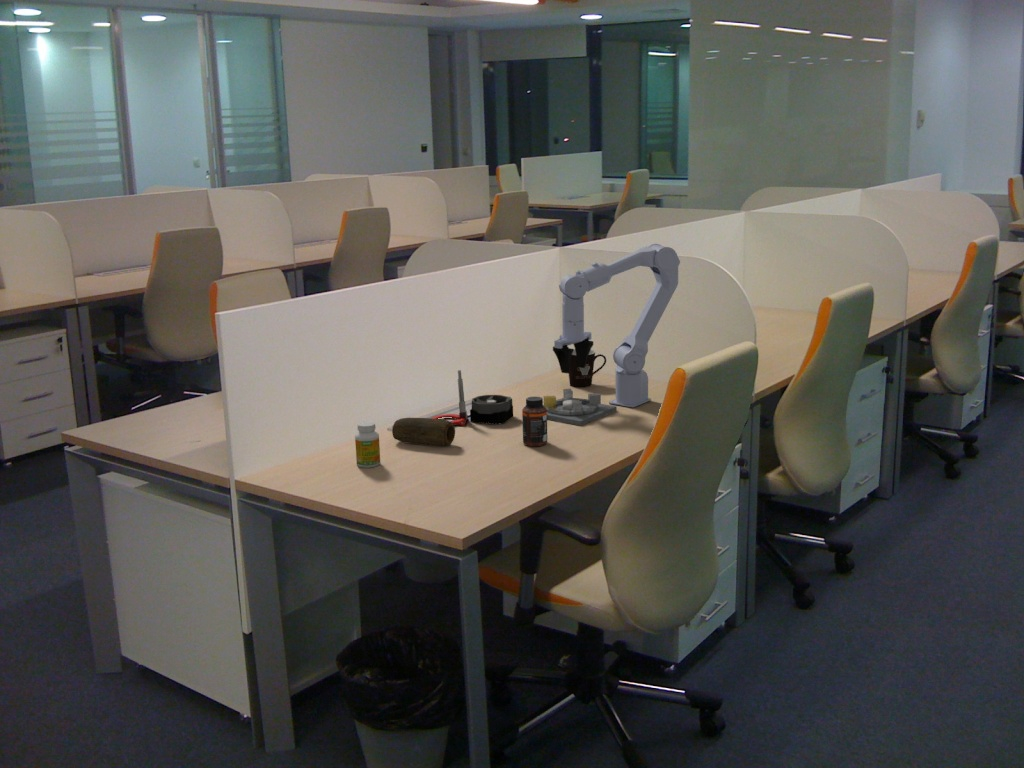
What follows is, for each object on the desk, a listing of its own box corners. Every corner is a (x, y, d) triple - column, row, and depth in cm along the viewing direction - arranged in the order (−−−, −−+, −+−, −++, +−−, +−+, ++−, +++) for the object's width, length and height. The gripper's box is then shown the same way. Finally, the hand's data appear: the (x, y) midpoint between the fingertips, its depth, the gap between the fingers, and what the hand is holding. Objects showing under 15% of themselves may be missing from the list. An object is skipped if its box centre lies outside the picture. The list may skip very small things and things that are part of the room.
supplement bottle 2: (552, 444, 238) (551, 399, 236) (531, 449, 235) (530, 402, 233) (539, 438, 243) (538, 393, 241) (518, 442, 240) (517, 397, 238)
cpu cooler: (465, 402, 257) (480, 392, 266) (466, 423, 258) (481, 413, 268) (502, 405, 253) (516, 395, 262) (502, 426, 255) (517, 416, 264)
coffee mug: (564, 388, 290) (564, 355, 288) (567, 381, 299) (567, 348, 296) (604, 389, 289) (604, 355, 286) (606, 382, 297) (606, 349, 294)
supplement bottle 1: (361, 469, 223) (358, 428, 221) (353, 463, 228) (351, 422, 226) (384, 465, 226) (381, 424, 223) (375, 459, 231) (373, 419, 228)
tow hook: (426, 429, 255) (465, 427, 254) (421, 376, 252) (460, 374, 251) (431, 419, 264) (468, 417, 263) (426, 368, 261) (464, 366, 260)
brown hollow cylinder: (458, 442, 242) (457, 416, 241) (447, 451, 236) (446, 424, 234) (402, 437, 247) (401, 411, 245) (390, 446, 241) (388, 419, 239)
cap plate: (564, 401, 276) (564, 391, 276) (616, 410, 266) (616, 399, 265) (527, 415, 263) (527, 404, 263) (580, 425, 253) (580, 414, 252)
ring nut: (540, 402, 271) (539, 390, 270) (594, 399, 272) (594, 387, 272) (548, 417, 256) (548, 404, 255) (606, 414, 258) (606, 401, 257)
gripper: (576, 314, 272) (576, 363, 276) (544, 323, 261) (545, 373, 265) (597, 317, 268) (597, 366, 271) (566, 325, 257) (567, 376, 260)
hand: (573, 370), depth 268 cm, fingers open, 7 cm apart
